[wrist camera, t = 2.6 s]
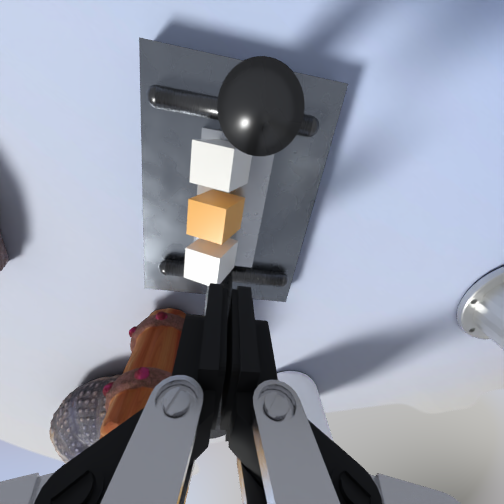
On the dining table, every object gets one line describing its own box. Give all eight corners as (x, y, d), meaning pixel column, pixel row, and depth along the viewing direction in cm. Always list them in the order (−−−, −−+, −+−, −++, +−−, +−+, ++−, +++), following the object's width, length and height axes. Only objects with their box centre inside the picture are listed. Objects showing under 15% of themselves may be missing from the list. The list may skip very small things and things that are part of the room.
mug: (133, 296, 32) (62, 425, 19) (200, 295, 32) (178, 419, 19) (151, 375, 39) (109, 511, 25) (207, 373, 39) (193, 505, 26)
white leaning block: (238, 240, 23) (219, 258, 20) (234, 267, 25) (216, 288, 21) (208, 231, 24) (185, 247, 21) (205, 257, 25) (183, 277, 22)
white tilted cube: (253, 146, 20) (234, 149, 16) (247, 183, 21) (228, 192, 18) (217, 139, 20) (191, 139, 17) (214, 175, 22) (189, 182, 18)
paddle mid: (245, 197, 22) (226, 209, 18) (240, 228, 23) (221, 245, 19) (212, 189, 22) (188, 198, 19) (209, 219, 24) (186, 234, 20)
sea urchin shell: (37, 380, 37) (-8, 458, 28) (169, 340, 40) (166, 400, 31) (95, 450, 45) (74, 527, 37) (201, 413, 48) (205, 477, 39)
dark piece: (337, 86, 23) (593, 17, 7) (282, 289, 33) (330, 461, 17) (149, 45, 21) (-157, -209, 4) (150, 275, 31) (57, 458, 14)
